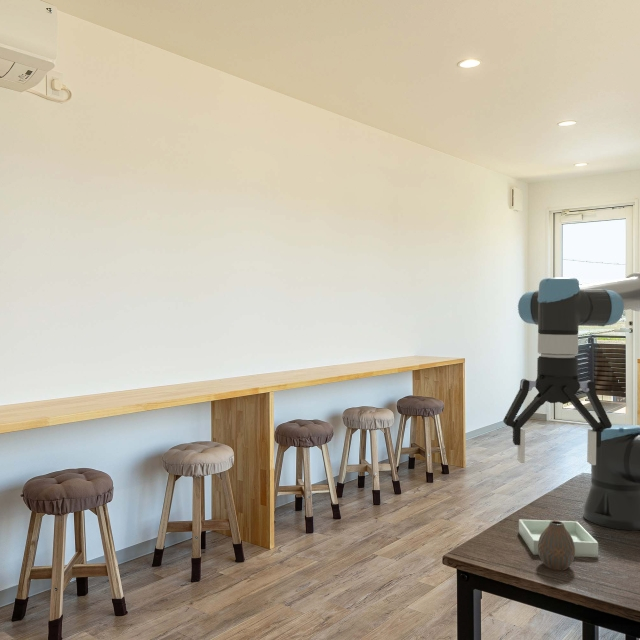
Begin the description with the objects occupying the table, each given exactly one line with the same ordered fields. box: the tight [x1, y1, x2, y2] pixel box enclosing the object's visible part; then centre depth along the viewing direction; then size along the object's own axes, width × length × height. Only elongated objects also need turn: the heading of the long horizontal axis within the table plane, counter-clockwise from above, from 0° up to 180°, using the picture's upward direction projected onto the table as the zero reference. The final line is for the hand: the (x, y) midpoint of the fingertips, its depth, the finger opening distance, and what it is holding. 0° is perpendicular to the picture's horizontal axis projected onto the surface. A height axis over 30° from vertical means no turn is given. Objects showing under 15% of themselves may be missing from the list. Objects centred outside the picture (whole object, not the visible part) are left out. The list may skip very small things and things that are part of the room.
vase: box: [538, 520, 576, 571], centre depth 123 cm, size 7×7×9 cm
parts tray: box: [518, 519, 599, 558], centre depth 134 cm, size 13×13×3 cm
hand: (556, 462), depth 122 cm, fingers open, 13 cm apart
